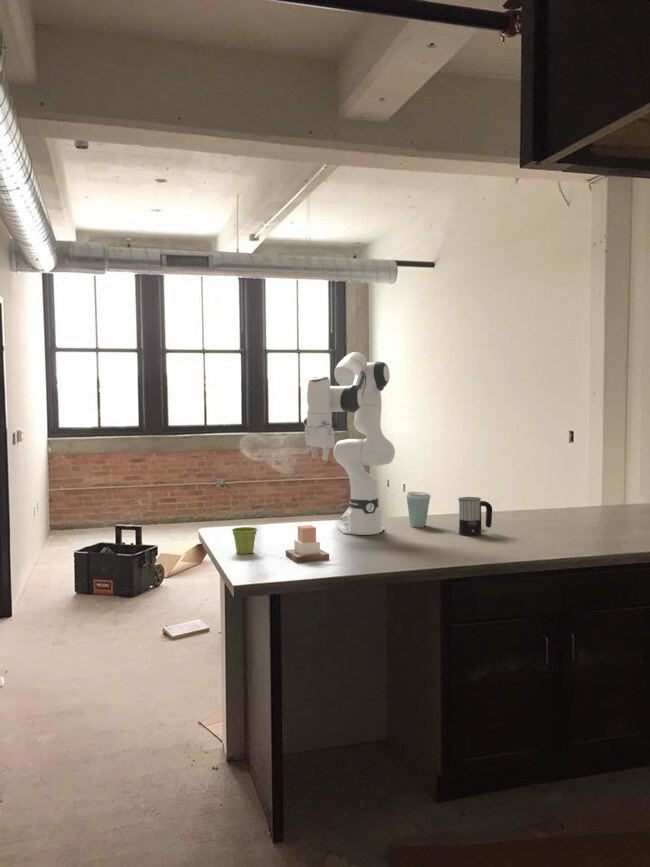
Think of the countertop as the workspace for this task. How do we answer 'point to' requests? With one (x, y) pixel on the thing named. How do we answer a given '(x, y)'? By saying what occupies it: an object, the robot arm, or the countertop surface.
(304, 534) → the terracotta cube
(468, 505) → the milk frother
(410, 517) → the disposable coffee cup
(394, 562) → the countertop surface
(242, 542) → the plant pot
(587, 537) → the countertop surface
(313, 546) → the cream block
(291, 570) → the countertop surface
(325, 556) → the walnut base
